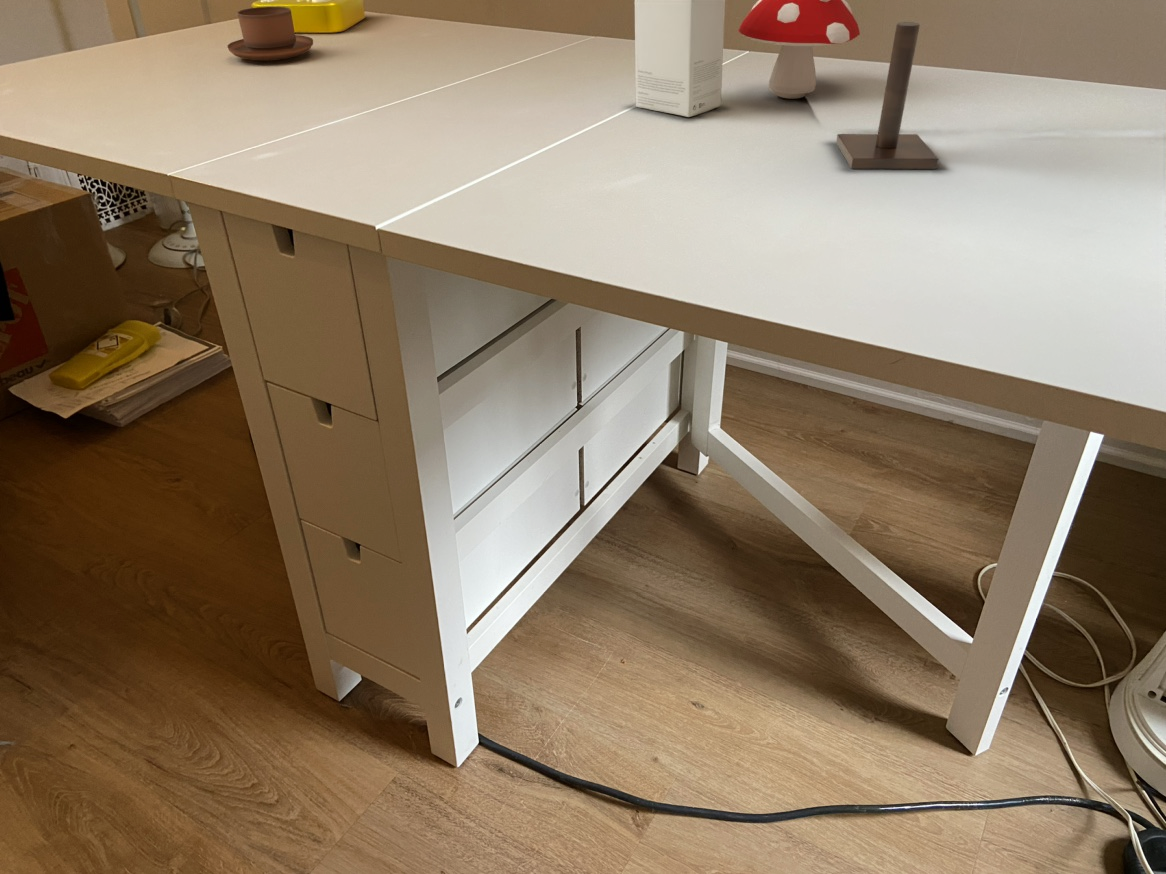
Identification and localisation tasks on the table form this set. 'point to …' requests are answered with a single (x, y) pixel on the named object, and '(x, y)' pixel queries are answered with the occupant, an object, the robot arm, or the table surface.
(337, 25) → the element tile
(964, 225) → the table surface
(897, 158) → the peg
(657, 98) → the cosmetic box
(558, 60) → the table surface
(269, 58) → the cup and saucer
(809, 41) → the decorative mushroom
